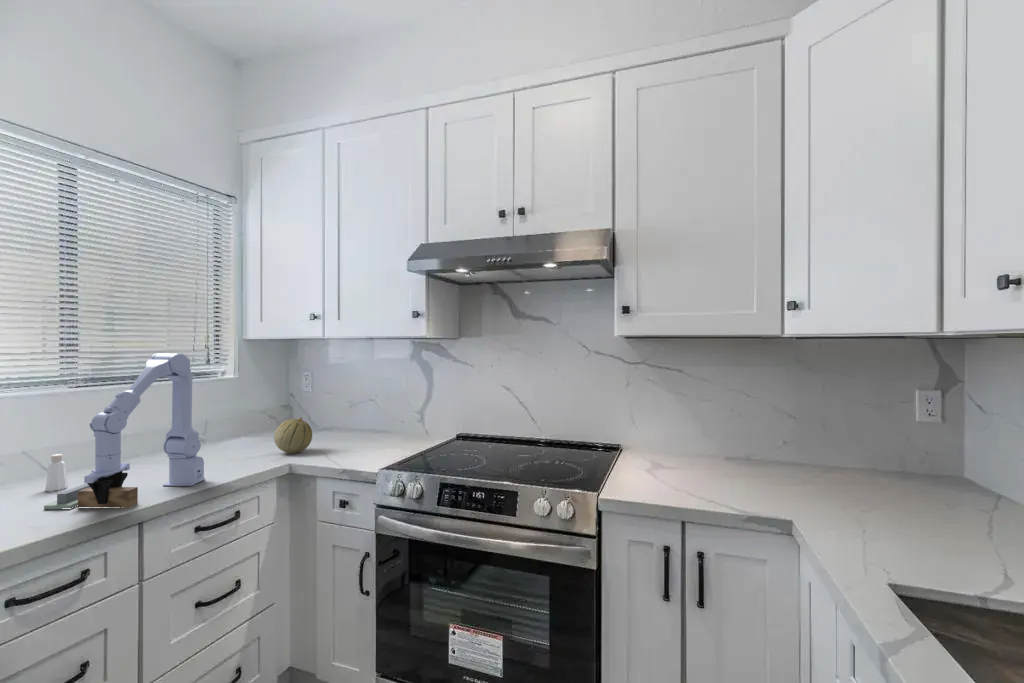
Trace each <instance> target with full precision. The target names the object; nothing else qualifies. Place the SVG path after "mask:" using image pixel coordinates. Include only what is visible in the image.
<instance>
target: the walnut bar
mask: <svg viewBox="0 0 1024 683" xmlns="http://www.w3.org/2000/svg"><path fill="white" fill-rule="evenodd" d="M138 492H139V491H138V486H122V487H110V489H109V495H108V502H107V503H106V504H98V502H97V499H96V496H95V494H94V492H93V490H92V489H91V488H85V489H83V490H80V491H78V506H77V508H78V507H120V508H119V509H122V508H121V507H124V508H123V509H130V508H132V507H134V506H136V505H135V504H137V505H138V501H139V500H138V498H139V497H138V495H139V494H138ZM133 505H134V506H133ZM131 506H132V507H131ZM125 507H126V508H125ZM129 507H130V508H129Z"/></svg>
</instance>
